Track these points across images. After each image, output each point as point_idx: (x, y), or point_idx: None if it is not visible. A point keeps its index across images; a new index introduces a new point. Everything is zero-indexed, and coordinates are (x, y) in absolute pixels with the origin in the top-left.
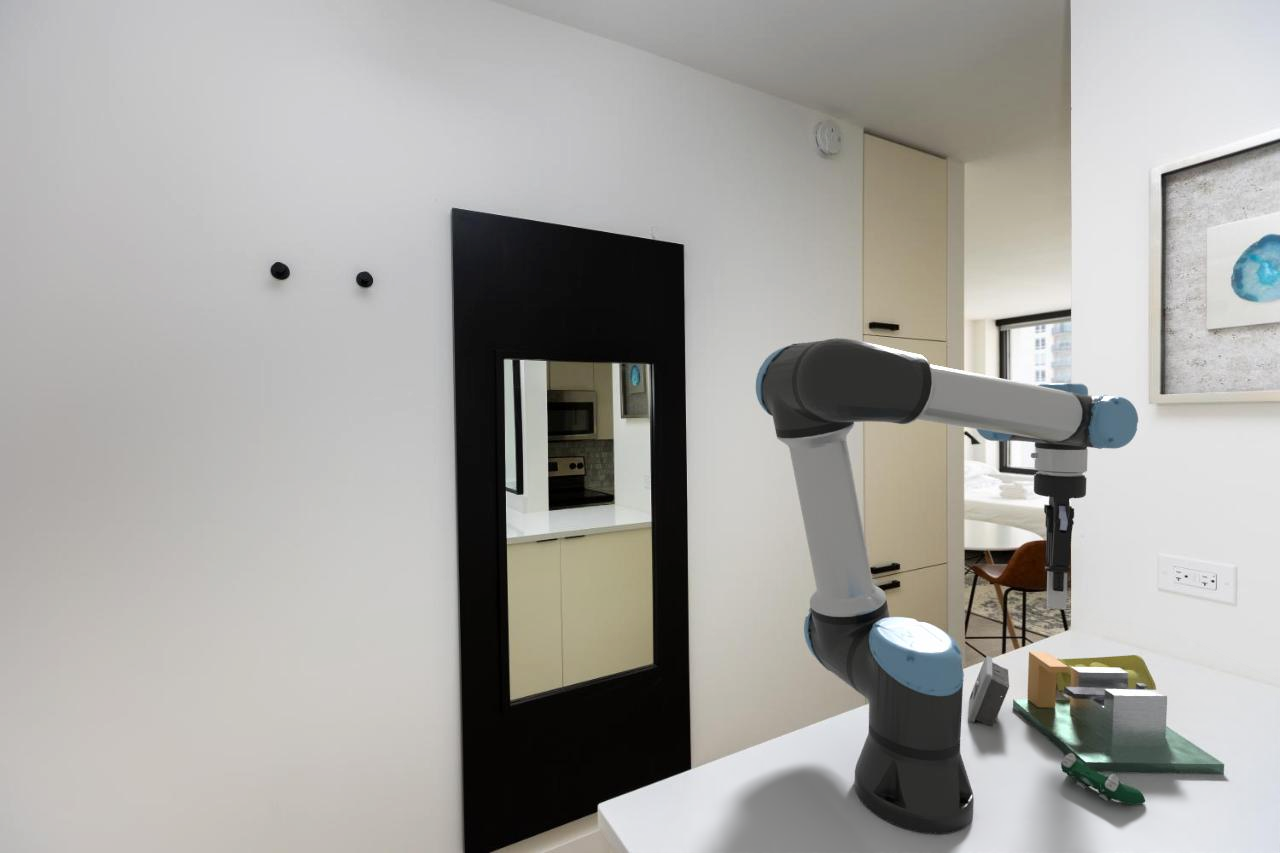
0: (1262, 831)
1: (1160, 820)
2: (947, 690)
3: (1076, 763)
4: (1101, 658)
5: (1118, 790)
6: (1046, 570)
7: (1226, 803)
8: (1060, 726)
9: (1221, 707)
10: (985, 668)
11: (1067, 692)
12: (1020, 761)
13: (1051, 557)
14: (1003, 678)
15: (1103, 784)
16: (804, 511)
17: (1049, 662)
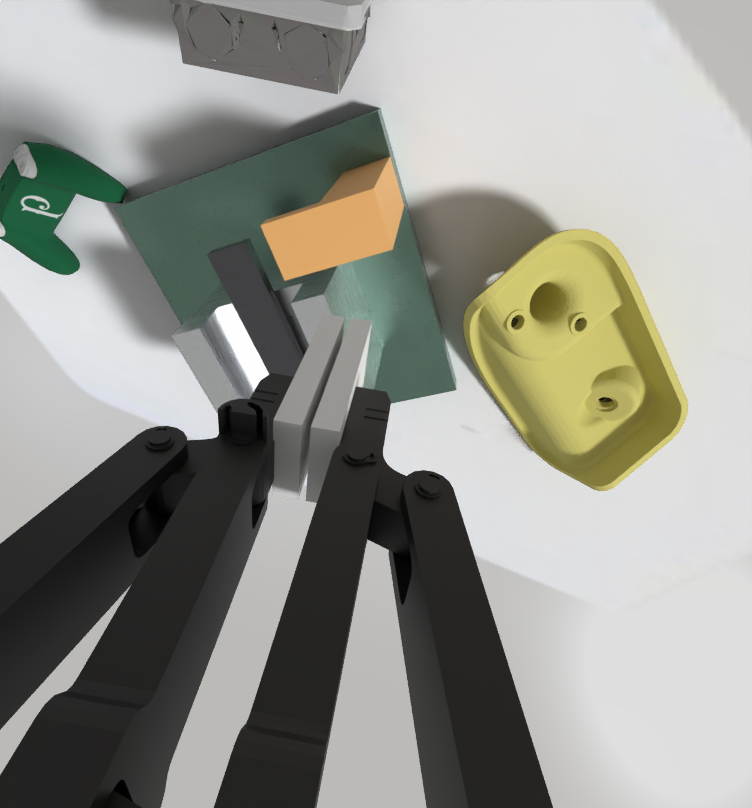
0: (105, 397)
1: (38, 276)
2: None
3: (19, 173)
4: (675, 421)
5: None
6: (228, 405)
7: (156, 388)
8: (260, 202)
9: (507, 521)
10: None
11: (235, 243)
12: (84, 58)
13: (188, 492)
14: (233, 53)
15: None
16: None
17: (295, 233)
